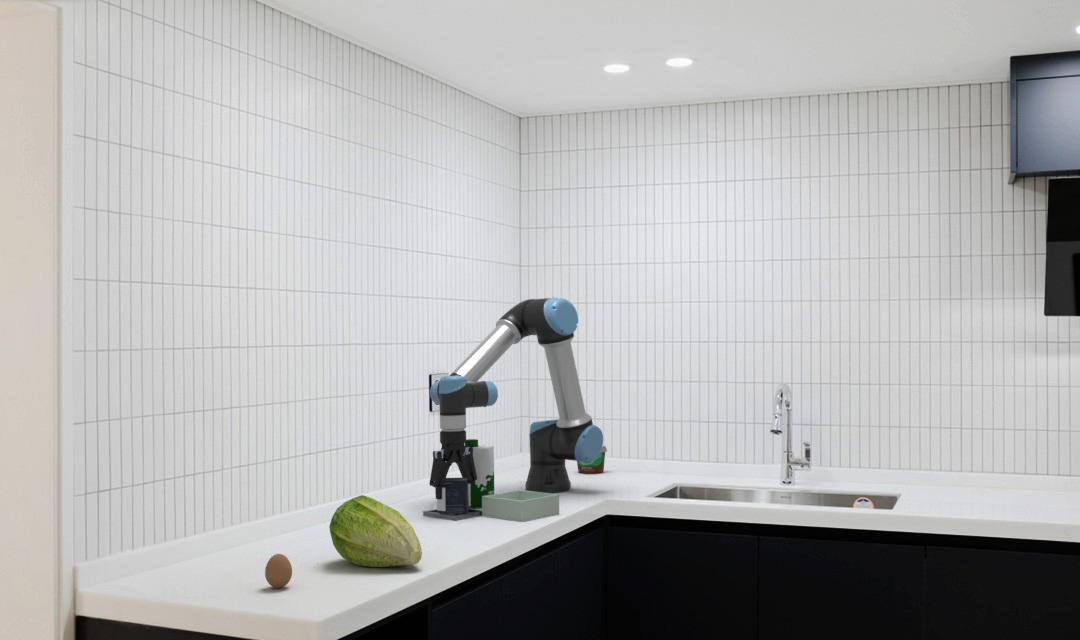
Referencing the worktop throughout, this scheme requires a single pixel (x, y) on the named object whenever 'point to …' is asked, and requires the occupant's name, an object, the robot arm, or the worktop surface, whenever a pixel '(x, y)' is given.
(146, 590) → the worktop surface
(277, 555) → the egg
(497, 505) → the bin
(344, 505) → the lettuce
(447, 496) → the box
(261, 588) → the worktop surface
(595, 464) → the food container
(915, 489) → the worktop surface
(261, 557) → the worktop surface
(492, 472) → the milk carton
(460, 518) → the collar
